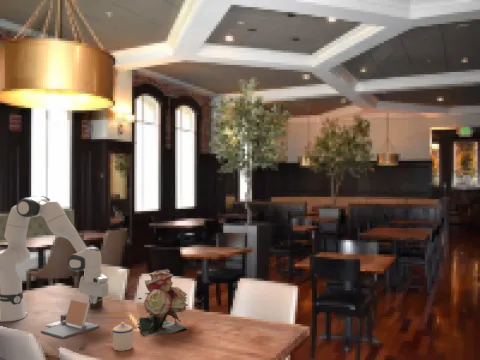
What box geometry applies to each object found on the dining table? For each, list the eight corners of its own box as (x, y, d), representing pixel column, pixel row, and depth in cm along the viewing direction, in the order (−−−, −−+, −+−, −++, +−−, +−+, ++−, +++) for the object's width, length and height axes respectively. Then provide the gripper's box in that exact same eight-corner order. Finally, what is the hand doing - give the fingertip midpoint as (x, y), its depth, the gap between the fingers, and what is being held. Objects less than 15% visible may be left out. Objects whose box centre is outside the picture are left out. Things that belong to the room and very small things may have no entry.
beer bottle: (89, 308, 295) (88, 268, 295) (89, 305, 302) (88, 266, 302) (102, 307, 297) (102, 267, 297) (102, 304, 305) (102, 265, 304)
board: (41, 332, 251) (40, 326, 251) (77, 321, 269) (77, 316, 269) (63, 338, 240) (62, 333, 240) (99, 327, 258) (99, 321, 258)
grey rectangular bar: (72, 318, 275) (72, 311, 275) (77, 320, 272) (77, 313, 272) (46, 326, 262) (46, 318, 262) (52, 327, 259) (51, 320, 259)
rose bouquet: (144, 339, 238) (143, 277, 238) (133, 323, 265) (132, 267, 265) (195, 332, 248) (195, 272, 248) (180, 317, 275) (179, 263, 275)
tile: (73, 299, 264) (70, 299, 263) (90, 303, 256) (87, 302, 255) (66, 322, 261) (64, 322, 260) (83, 327, 253) (81, 326, 252)
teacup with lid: (137, 346, 228) (137, 321, 228) (123, 352, 220) (123, 326, 220) (118, 342, 234) (117, 317, 234) (103, 348, 226) (103, 322, 226)
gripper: (75, 276, 270) (76, 301, 270) (100, 280, 258) (101, 307, 258) (85, 274, 275) (85, 299, 275) (110, 278, 263) (110, 304, 263)
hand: (93, 303), depth 266 cm, fingers closed
